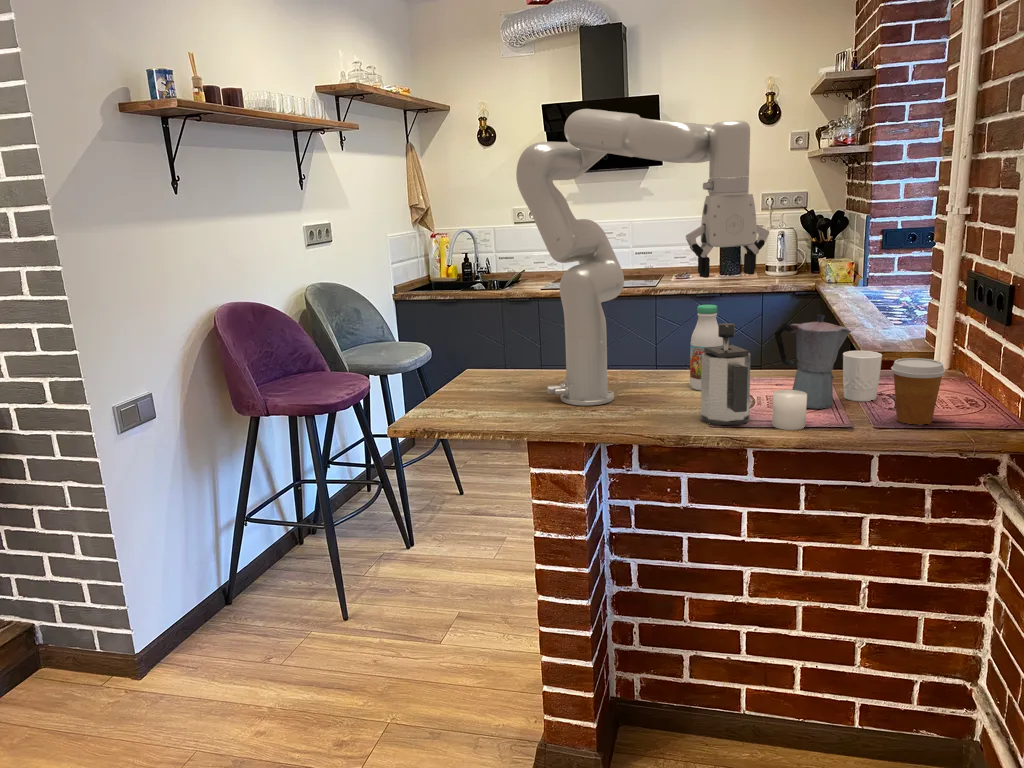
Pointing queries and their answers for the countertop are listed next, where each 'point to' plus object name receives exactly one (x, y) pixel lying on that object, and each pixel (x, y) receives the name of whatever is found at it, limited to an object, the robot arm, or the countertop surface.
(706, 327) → the milk bottle
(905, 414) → the disposable coffee cup
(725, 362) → the press carafe
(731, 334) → the plunger
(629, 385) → the countertop surface
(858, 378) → the white cup
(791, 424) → the white pillar candle
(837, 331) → the moka pot
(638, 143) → the robot arm
